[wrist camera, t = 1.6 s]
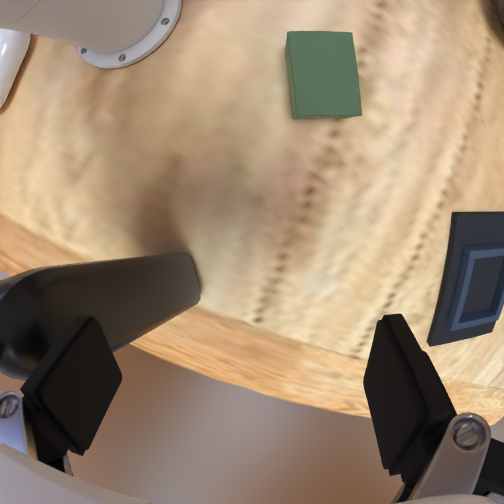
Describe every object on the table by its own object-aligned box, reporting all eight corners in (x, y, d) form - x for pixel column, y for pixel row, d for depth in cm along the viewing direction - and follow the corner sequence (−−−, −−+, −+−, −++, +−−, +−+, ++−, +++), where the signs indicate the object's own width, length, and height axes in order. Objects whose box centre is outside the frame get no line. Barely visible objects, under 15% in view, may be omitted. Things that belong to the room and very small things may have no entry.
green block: (284, 49, 22) (287, 31, 17) (338, 49, 22) (352, 32, 17) (292, 119, 25) (297, 116, 20) (345, 118, 24) (362, 115, 19)
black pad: (452, 212, 27) (465, 219, 24) (517, 212, 26) (530, 218, 23) (426, 341, 34) (434, 354, 31) (488, 327, 32) (496, 338, 30)
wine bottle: (204, 303, 31) (-85, 469, 1) (158, 311, 32) (-102, 428, 2) (192, 250, 31) (-147, 283, 1) (146, 261, 32) (-140, 302, 2)
